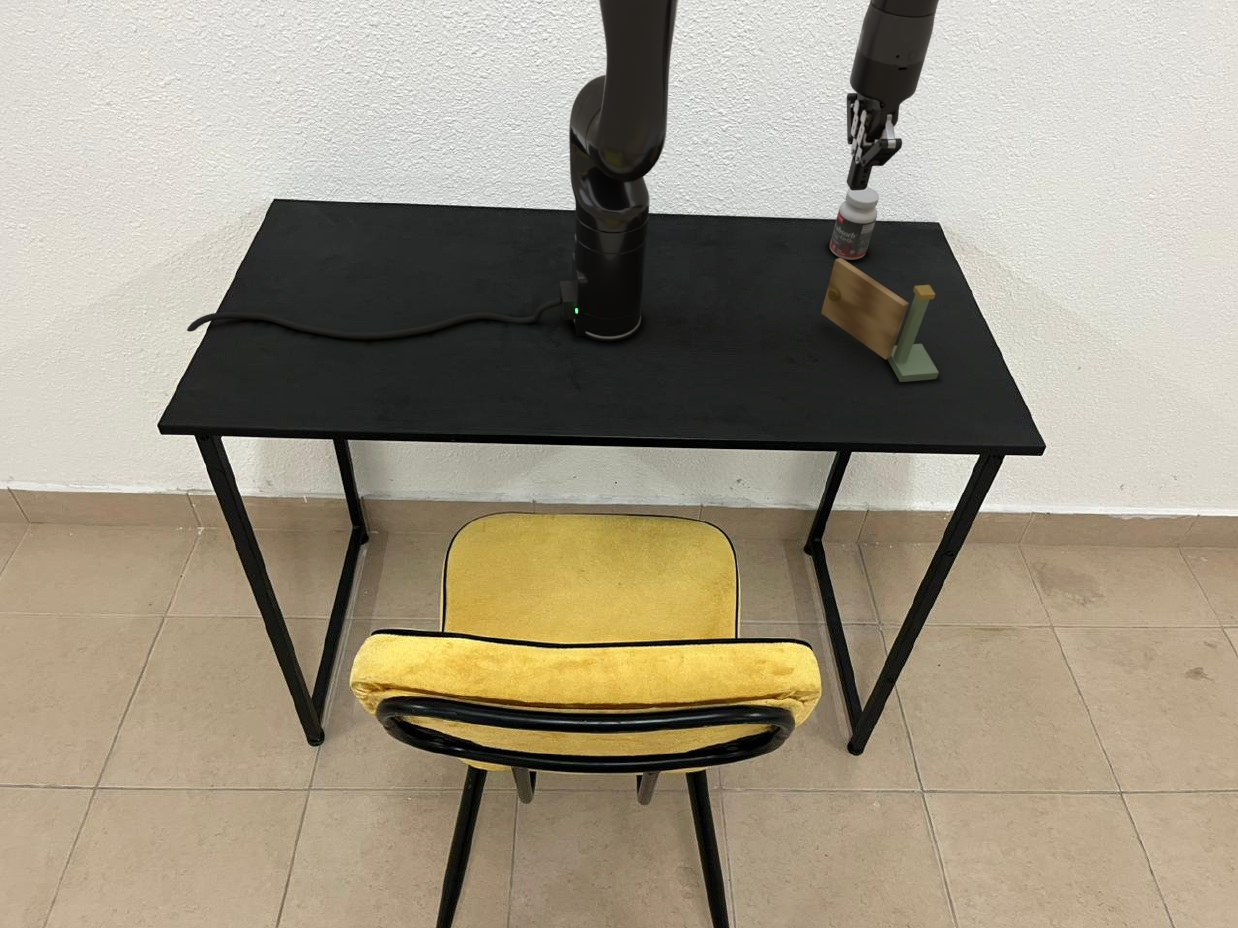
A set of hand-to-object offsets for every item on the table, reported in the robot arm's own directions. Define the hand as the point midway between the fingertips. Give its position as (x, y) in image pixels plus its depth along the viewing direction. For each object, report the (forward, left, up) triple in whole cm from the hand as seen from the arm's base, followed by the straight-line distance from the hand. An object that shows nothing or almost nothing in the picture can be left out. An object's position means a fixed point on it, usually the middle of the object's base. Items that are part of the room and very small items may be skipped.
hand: (856, 187), depth 114 cm
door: (+3, -5, -20) cm, 21 cm away
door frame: (+9, -11, -21) cm, 25 cm away
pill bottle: (+10, +16, -21) cm, 29 cm away
